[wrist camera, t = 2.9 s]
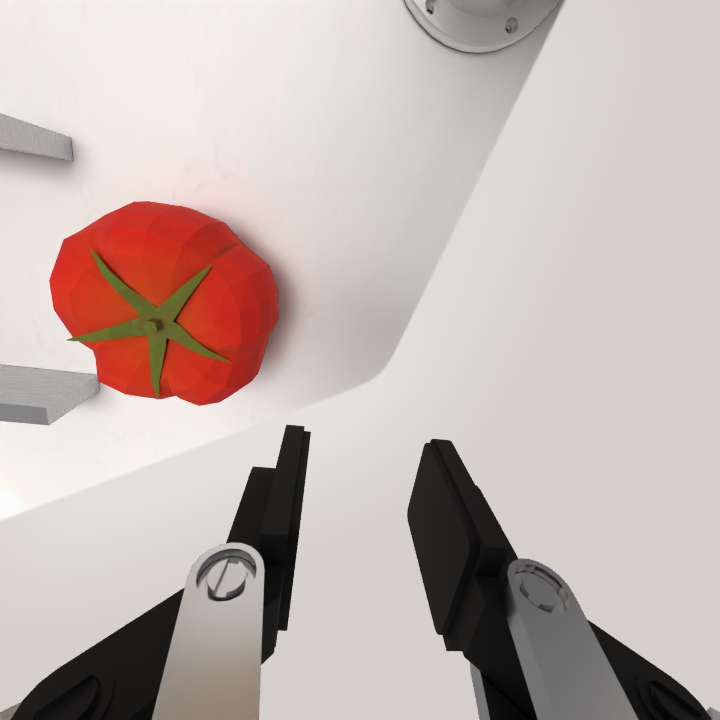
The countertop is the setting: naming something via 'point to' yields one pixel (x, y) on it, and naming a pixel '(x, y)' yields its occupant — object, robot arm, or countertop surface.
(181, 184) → the countertop surface
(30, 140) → the grey u-shaped bracket
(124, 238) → the tomato
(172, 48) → the countertop surface
